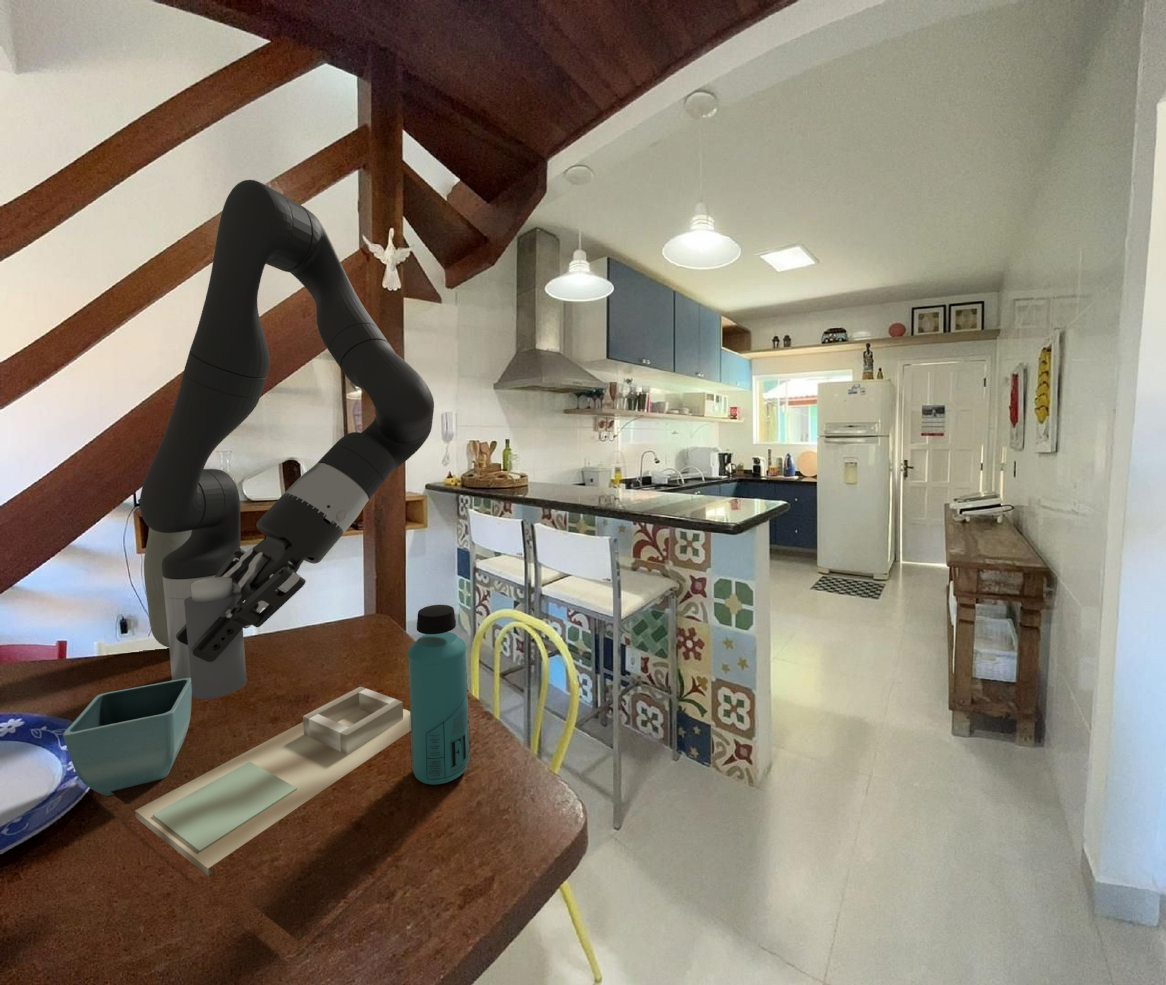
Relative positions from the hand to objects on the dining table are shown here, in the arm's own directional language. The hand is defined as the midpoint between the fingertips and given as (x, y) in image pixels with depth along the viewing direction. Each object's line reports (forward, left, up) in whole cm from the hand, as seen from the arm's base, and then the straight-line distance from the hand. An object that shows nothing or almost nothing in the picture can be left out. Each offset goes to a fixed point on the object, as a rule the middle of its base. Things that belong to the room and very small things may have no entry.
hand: (192, 649), depth 47 cm
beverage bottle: (+16, +16, -18) cm, 29 cm away
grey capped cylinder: (0, +2, -5) cm, 5 cm away
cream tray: (0, +10, -18) cm, 20 cm away
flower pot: (-14, 0, -18) cm, 23 cm away
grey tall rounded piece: (-50, +20, -18) cm, 56 cm away
